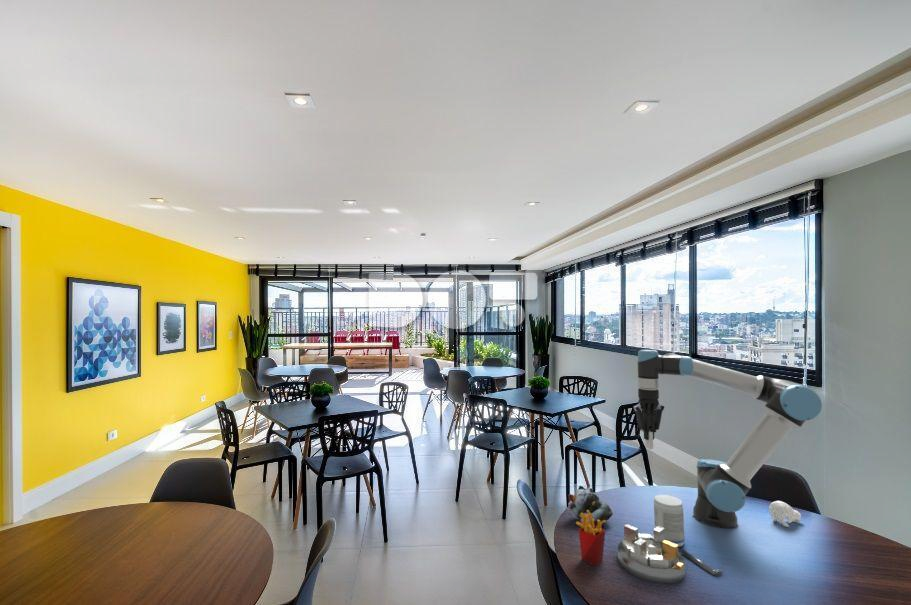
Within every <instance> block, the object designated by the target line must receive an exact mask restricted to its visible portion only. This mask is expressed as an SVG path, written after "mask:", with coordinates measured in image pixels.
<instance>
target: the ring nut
mask: <svg viewBox="0 0 911 605" xmlns="http://www.w3.org/2000/svg"><path fill="white" fill-rule="evenodd" d="M623 536H624V537H623V539H622V541H623V548H624V550H625V552H626V553H627V555H628V557H630V559H632V560H635V561H637V562H639V563H641V564H643V565H645V566H650V567H651V568H666V569H669V567H670V568H672V567H673V566H674V565H675V564H677V563H678V562H679V554H680V551H679V547H678V545H676V544H674V543H672V542H669V541H667V540H664V539H665V528H663V527H660V526H658V527H656V528H655V527H654V529H653V534H652V535H651V534H650V533H640V532H639V528H638V527H635V526H633V525H630V524H628V523H627V524H625V525H623ZM643 539H648V540H653V541H655V542H657V543H659V544H660V545H661V546H662V550H663V554H665V555H649V554H647V553H646V552H647V546H646V541H645V540H643Z"/></svg>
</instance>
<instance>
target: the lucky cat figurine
mask: <svg viewBox="0 0 911 605" xmlns="http://www.w3.org/2000/svg"><path fill="white" fill-rule="evenodd" d="M567 505H568V508H569V510H570V511H571V512H572V514H573V515H574V516H575V517H576V518H577V519H578V520H579V522H580V523H582V518H581V517H580V515H581V513H583V514H585V516H586V515H587V514H588V513H587V510H589V511H590V513H591V515H592V516H593V519H594V526H597V525H598V522H597V520H600V522H601V521H603V520H605V521H606V522H607V521H608V520H609V519H610V518H611V517H612V516H613V515H614V513H613V511H612V509H611V508H610V505H609V504H608V503H606V502H605V501H601V500H600V498H599V496H598V495H597V494H596V492H594V490H593V488H591V487H588V488H587V489H586V488H585V487H584V486H582V485H579V486H578V489H577V490H576V492H575V493H574V494H571V493H570V494H568V504H567ZM588 518H589V517H588ZM588 520H589V522H590V519H588ZM603 525H604V523H602V524H601V527H602V526H603Z"/></svg>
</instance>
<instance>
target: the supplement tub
mask: <svg viewBox="0 0 911 605" xmlns="http://www.w3.org/2000/svg"><path fill="white" fill-rule="evenodd" d="M653 513H654V514H653V515H654V516H653V517H654V529H655V528H656V527H658V526H660V527H663V528H665V539H664V540H667V541H669V542H672V543H674V544H676V545H678V548H679V547H682V546H684V544H685V524H684V523H685V520H684V505H683V501H682V500H681V499H680V498H678V497H676V496H672V495H668V494H657V495H655V496H654V498H653Z"/></svg>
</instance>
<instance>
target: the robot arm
mask: <svg viewBox="0 0 911 605" xmlns="http://www.w3.org/2000/svg"><path fill="white" fill-rule="evenodd" d="M659 375H670V376H671V375H672V376H682V377H683V376H686V377H689V378H692V379H696V380H700V381H703V382H706V383H710V384H713V385H717V386H720V387H722V388H726V389H729V390H732V391H737V392H740V393H744V394H746V395H750V396H751V397H752V399H755V400H757V401H761V402H764V403H766V404H765V405H764V407H763V408H764V410H765V413H764V414H763V416H762V417H761V419H759V421H758V422H757V424H755V426H754V427H753V428H752V430H751V431H750V432H749V433H748V435H747V436H746V437H745V439H744V440H743V441H742V442H741V444H740V445H739V446H738V447H737V448H736V450H735V451H734V452H733V454H732V455H731V456H730V458H728V460H727V461H726V462H725V461H721V460H715V459H707V458H702V459H698V461H697V462H696V463H697V464H696V469H697V470H696V471H697V472H696V473H697V474H696V475H697V476H696V477H697V497H696V500H695V504H694V506H693V508H692V513H693V517H694V518H695V519H697V521H699V522H702V523H703V524H707V525H709V526H711V527H717V528H720V529H721V528H723V529H727V528H728V529H730V528H735V527H737V526H738V515H737V514H736V512H738V511H740V510H741V509H743V508H744V506H745V504H746V501H747V500H746V498H747V497H746V495H747V494H748V493H749V491H750V490H751V489H752V483H751V480H753V479H752V478H753V477H754V476H755V475H756V474H757V472H758V471H759V470H760V469H761V468H762V466H763V465H764V463H766V462H767V460H768V459H769V458H770V456H772V454H773V453H774V451H775V450H776V449H777V448H778V447H779V445H780V444H781V442H783V441H784V440H785V438H786V436H787V435H788V434H789V433H790V432H791V430H792V429H801V427H802V426H803V425H804V424H805V422H806V421H810V420H813V419H815V418H816V417H818V416H819V415H820V413H821V412H822V409H823V408H822V407H823V404H822V400H821V397H820V396H819V394H818V393H817V392H816V391H815V390H814V389H811V388H810V387H808V386H806V385H804V384H802V383H798V382H794V381H792V380H787V379H780V378H773V377H769V376H764V375H761V374H760V375H757V376H754V375H751V374H748V373H745V372H741V371H738V370H734V369H730V368H726V367H723V366H719V365H715V364H712V363H708V362H705V361H701V360H697V359H694V358H692V357H691V356H686V355H685V356H684V355H679V354H676V353H673V352H668V353H667V352H666V353H665V354H664V355H661V354H659V351H658V350H656V349H655V350H654V349H640V350H638V352H637V386H638V389H637V397H638V402H637V403H638V404H636V405H633V406H632V409H633V410H634V413H635V417H636V421H637V425H638V429H639V430H640V431H641V430H642V432H643V440H644V441H645V442H644V446H645V448H647V449H648V450H649V449H650V450H653V449H654V440H655V433H656V432H657V431H659V430H660V426H661V421H662V417H663V416H662V414H663V411H664V410H665V406H664V405H662V404H660V402H659V399H660V392H659V388H660V382H659V380H660V379H659Z"/></svg>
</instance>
